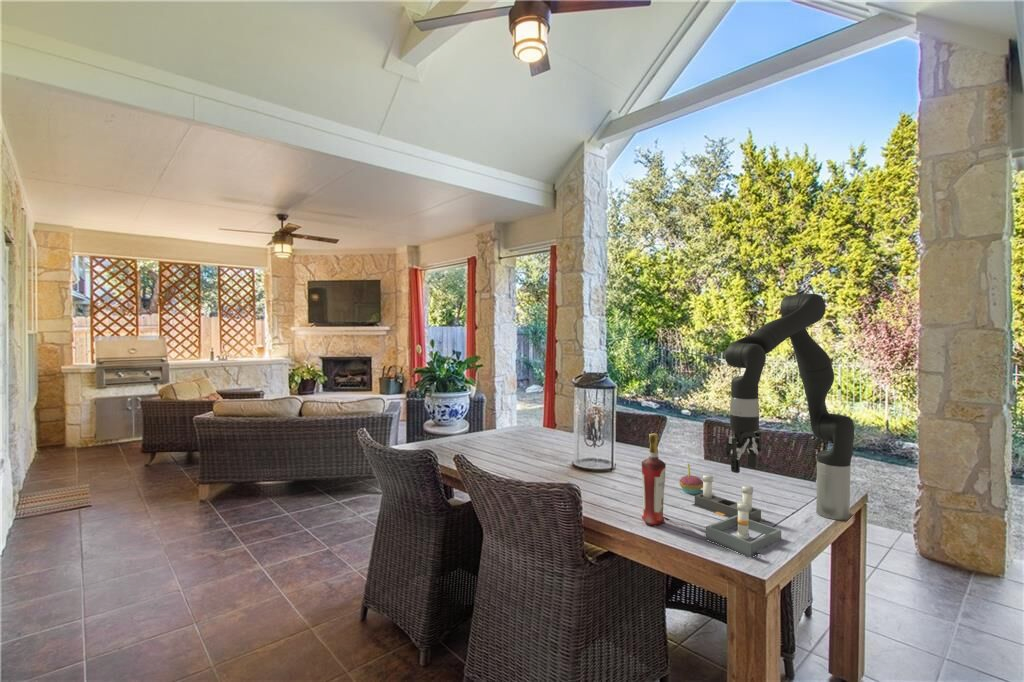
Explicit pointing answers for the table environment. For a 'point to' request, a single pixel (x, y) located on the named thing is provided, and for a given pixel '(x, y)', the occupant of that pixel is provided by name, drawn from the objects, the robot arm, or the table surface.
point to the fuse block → (724, 507)
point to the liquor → (653, 484)
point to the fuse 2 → (747, 495)
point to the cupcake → (691, 483)
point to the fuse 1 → (707, 486)
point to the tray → (739, 544)
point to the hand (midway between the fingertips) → (743, 469)
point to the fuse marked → (743, 520)
